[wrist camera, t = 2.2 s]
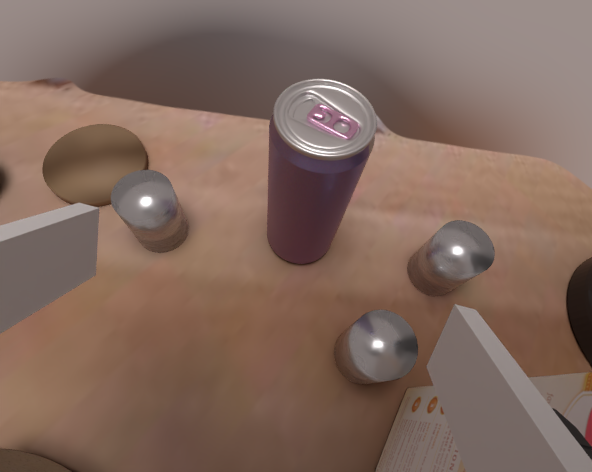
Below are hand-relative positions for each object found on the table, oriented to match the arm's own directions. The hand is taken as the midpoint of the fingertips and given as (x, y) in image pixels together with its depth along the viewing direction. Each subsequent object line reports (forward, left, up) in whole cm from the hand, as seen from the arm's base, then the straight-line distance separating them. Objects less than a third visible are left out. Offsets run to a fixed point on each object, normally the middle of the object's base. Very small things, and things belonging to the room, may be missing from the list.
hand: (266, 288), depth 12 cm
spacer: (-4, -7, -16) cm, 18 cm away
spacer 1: (+13, +4, -16) cm, 21 cm away
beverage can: (+8, -7, -16) cm, 19 cm away
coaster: (+23, +7, -16) cm, 29 cm away
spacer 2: (-1, -16, -16) cm, 23 cm away
